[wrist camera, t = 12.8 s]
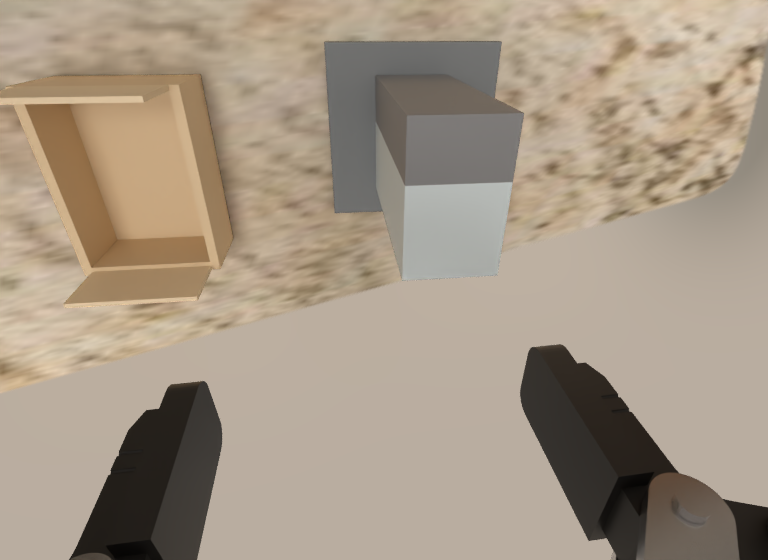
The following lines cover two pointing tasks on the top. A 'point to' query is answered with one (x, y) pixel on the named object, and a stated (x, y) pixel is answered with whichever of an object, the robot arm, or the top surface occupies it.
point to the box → (444, 174)
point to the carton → (130, 181)
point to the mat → (357, 101)
